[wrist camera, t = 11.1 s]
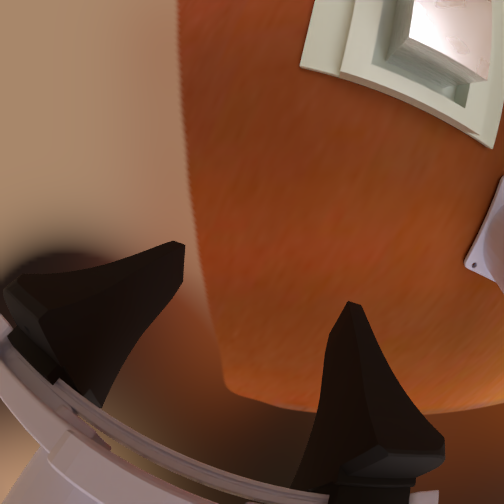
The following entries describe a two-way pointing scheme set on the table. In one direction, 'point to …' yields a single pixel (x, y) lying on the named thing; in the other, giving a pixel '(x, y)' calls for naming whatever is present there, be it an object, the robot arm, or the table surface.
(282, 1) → the table surface
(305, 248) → the table surface
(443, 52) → the block
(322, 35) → the cream stepped base
